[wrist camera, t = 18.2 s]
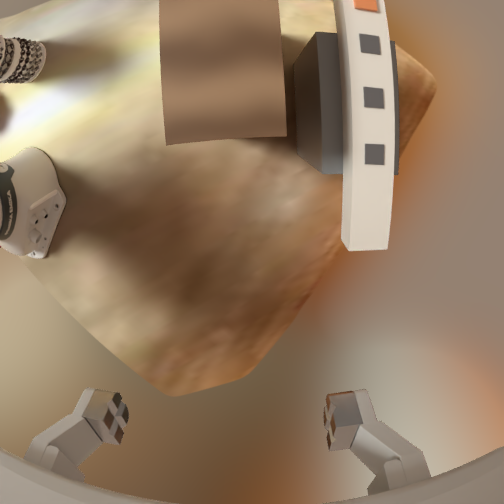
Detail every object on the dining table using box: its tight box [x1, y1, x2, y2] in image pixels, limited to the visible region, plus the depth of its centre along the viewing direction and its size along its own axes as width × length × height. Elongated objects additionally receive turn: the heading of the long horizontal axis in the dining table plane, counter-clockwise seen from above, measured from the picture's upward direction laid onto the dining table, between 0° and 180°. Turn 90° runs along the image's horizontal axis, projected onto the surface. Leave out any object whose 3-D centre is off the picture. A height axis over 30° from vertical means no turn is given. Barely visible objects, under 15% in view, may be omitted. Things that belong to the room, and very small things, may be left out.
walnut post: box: [159, 0, 287, 145], centre depth 27 cm, size 16×8×26 cm, turn 3°
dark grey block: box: [293, 32, 399, 175], centre depth 33 cm, size 14×8×18 cm, turn 3°
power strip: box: [333, 0, 395, 251], centre depth 23 cm, size 26×4×4 cm, turn 3°
